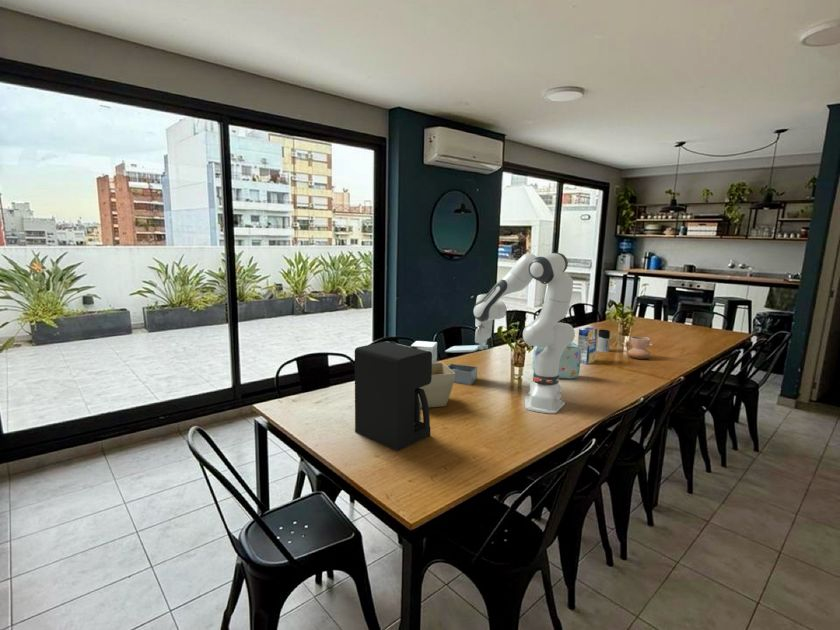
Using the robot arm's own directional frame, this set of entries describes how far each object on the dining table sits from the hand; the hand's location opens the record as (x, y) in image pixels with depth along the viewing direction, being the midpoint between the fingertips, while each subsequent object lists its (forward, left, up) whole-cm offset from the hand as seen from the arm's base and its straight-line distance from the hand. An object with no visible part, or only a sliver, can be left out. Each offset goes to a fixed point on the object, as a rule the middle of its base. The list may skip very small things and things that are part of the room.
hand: (482, 348), depth 239 cm
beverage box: (+74, -50, -20) cm, 91 cm away
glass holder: (+112, -62, -20) cm, 129 cm away
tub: (0, +12, -20) cm, 23 cm away
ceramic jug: (+103, -82, -20) cm, 133 cm away
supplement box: (+4, +36, -20) cm, 42 cm away
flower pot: (-41, +14, -20) cm, 48 cm away
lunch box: (+31, -36, -20) cm, 51 cm away
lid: (0, +8, -2) cm, 8 cm away
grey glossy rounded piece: (+3, +16, -19) cm, 25 cm away
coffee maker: (-80, +12, -20) cm, 83 cm away
